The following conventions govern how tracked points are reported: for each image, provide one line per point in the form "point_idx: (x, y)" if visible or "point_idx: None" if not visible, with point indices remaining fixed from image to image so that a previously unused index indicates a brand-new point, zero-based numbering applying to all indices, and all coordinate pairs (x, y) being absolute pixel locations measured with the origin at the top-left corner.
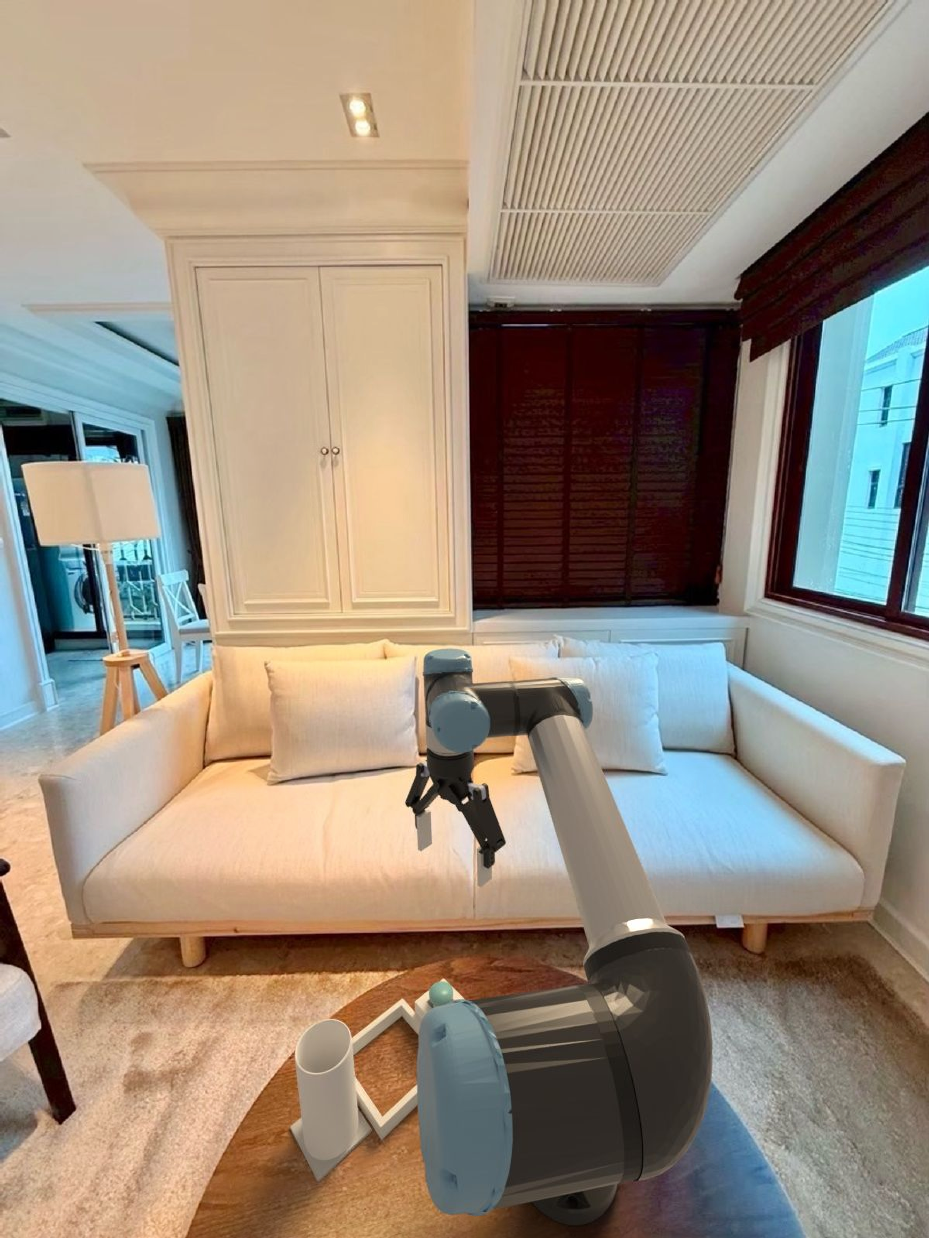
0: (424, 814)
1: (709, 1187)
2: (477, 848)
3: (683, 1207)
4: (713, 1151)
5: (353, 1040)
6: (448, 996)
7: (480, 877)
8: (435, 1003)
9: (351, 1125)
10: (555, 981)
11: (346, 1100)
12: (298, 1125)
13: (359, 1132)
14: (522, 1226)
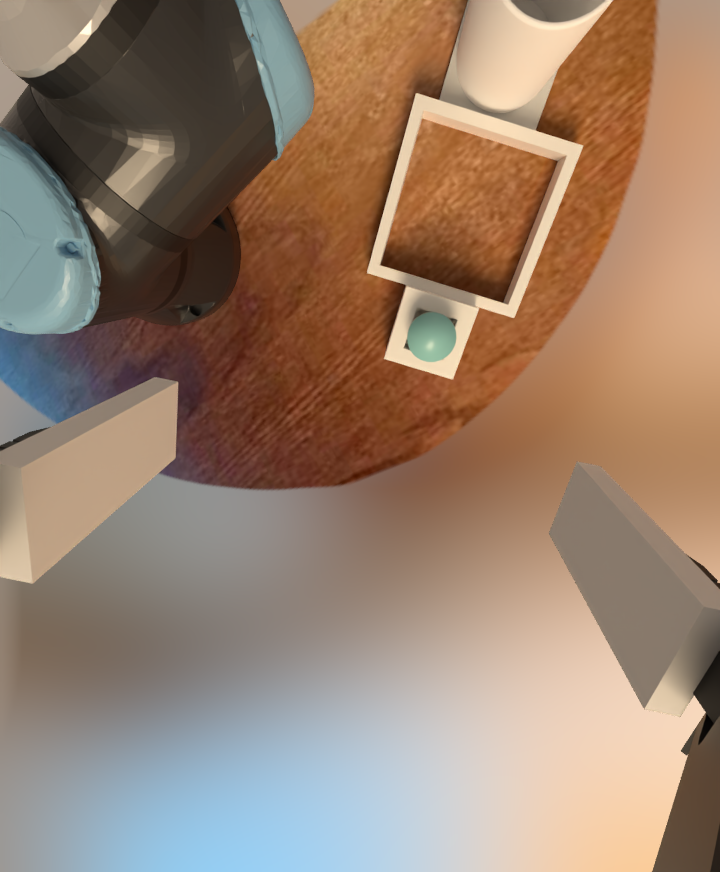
0: (677, 656)
1: None
2: (22, 473)
3: None
4: (30, 359)
5: (557, 193)
6: (413, 337)
7: (129, 392)
8: (430, 312)
9: (460, 47)
10: (297, 483)
11: (470, 3)
12: None
13: (454, 82)
14: None
